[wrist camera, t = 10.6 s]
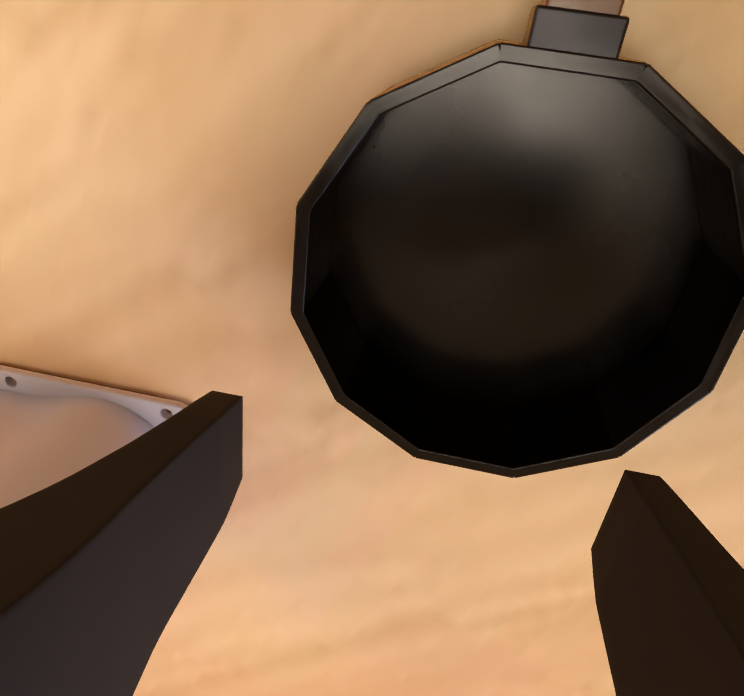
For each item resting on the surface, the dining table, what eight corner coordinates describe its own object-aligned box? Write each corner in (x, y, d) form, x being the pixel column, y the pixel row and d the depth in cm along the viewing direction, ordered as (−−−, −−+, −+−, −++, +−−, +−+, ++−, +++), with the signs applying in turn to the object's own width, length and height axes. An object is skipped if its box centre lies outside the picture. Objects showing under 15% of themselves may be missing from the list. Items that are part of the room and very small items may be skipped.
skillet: (627, 430, 22) (655, 508, 18) (314, 369, 23) (283, 431, 19) (976, -380, 11) (1187, -555, 8) (380, -423, 13) (340, -594, 9)
